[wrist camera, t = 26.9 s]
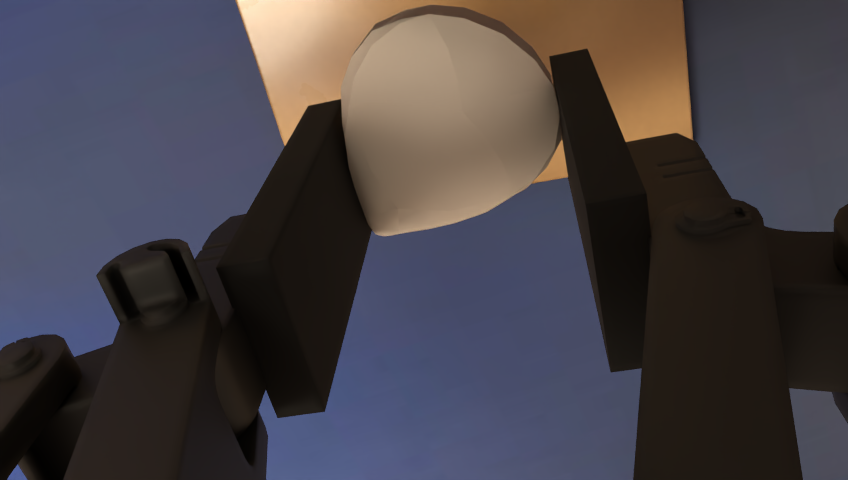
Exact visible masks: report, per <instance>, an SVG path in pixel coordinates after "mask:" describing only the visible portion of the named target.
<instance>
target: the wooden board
mask: <svg viewBox="0 0 848 480" xmlns="http://www.w3.org/2000/svg"><path fill="white" fill-rule="evenodd" d="M236 3H237V6H238V9H239V12H240V15H241V18H242V21H243V24H244V27H245V30H246V33H247V36H248V39H249V42H250V45H251V48H252V51H253V54H254V57H255V60H256V62H257V65H258V68H259V71H260V74H261V77H262V80H263V83H264V86H265V89H266V92H267V95H268V98H269V101H270V104H271V107H272V110H273V113H274V116H275V119H276V122H277V125H278V128H279V131H280V134H281V137H282V140H283V143H284V146H285V145H286V144H287V142H288V140H289V138H290V137H291V135H292V133H293V131H294V130H295V128H296V126H297V124H298V123H299V121H300V119H301V117H302V116H303V114H304V112H305V110H306V109H307V107H308V106H309V105H314V104H319V103H324V102H329V101H334V100H338V99H341V86H342V83H343V80H344V77H345V74H346V71H347V68H348V66H349V63H350V60H351V57H352V56H353V54H354V52H355V50H356V49H357V48H358V46H359V45H360V44H361V42H362V41H363V40H364V38H365V37H366V36H367V34H368V33H369V32H370V30H371V29H372V28H373V26H374V25H375V24H376V23H378V22H380V21H383V20H385V19H387V18H389V17H391V16H393V15H395V14H397V13H399V12H402V11H404V10H407V9H412V8H417V7H421V6H426V5H431V4H432V5H444V6H455V7H466V8H468V9H471V10H473V11H476V12H478V13H481V14H483V15H486V16H488V17H491V18H493V19H496V20H498V21H501V22H503V23H504V24H505V25H506V26H508V27H509V28H510V29H511V30H512V31H514V32H515V33H516V34H517V35H519V36H520V37H521V38H522V39H523V40H525V41H526V42H527V43H528V44H529V45H531V46H532V47H533V49H534V50H535V52H536V53H537V55H538V56H539V58H540V59H541V61H542V62H543V64H544V65H545V67H546V68H547V70H548V71H549V73H550V74H551V77H552V72H551V66H550V59H549V56H553V55H558V54H563V53H567V52H572V51H577V50H582V49H588V51H589V54H590V56H591V58H592V61H593V63H594V66H595V68H596V71H597V73H598V76H599V78H600V80H601V83H602V85H603V88H604V90H605V93H606V95H607V98H608V100H609V102H610V105H611V107H612V110H613V112H614V115H615V117H616V120H617V122H618V125H619V127H620V129H621V132H622V134H623V137H624V139H625V142H628V141H634V140H639V139H645V138H650V137H656V136H661V135H666V134H672V133H679V134H681V135H683V136H685V137H687V138H689V139H691V140H693V130H692V117H691V103H690V90H689V77H688V63H687V50H686V36H685V23H684V10H683V0H236ZM552 81H553V78H552ZM565 177H568V173H567V167H566V160H565V154H564V148H563V141H562V140H561V142H560V143H559V145H558V147H557V149H556V151H555V153H554V155H553V157H552V159H551V161H550V163H549V165H548V167H547V168H546V169H545V170H544V171H543V172H542V173H541V174H540V175H539V176H538V177H537V178H536V179H535V180H534V181H533V182H532V183H537V182H543V181H549V180H554V179H560V178H565ZM532 183H531V184H532Z"/></svg>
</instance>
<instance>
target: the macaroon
mask: <svg viewBox="0 0 848 480" xmlns="http://www.w3.org/2000/svg"><path fill="white" fill-rule="evenodd" d="M341 108H342V126H343V132H344V139H345V145H346V151H347V158H348V166H349V170H350V173H351V177H352V181H353V184H354V187H355V190H356V193H357V196H358V198H359V201H360V204H361V206H362V209H363V212H364V215H365V217H366V220H367V223H368V225H369V226H370V228H371V229H372V230H373V231H374V233H375V234H376V235H381V236H391V235H396V234H401V233H407V232H413V231H420V230H426V229H431V228H435V227H440V226H444V225H449V224H453V223H457V222H460V221H463V220H465V219H468V218H471V217H474V216H477V215H480V214H482V213H485V212H488V211H489V210H491V209H492V208H494V207H496V206H497V205H499V204H501V203H502V202H504V201H505V200H507V199H509V198H510V197H512V196H513V195H515V194H517V193H519V192H521V191H523V190H525V189H526V188H527V187H528V186H529V185H530V184H531V183H532V182H533V181H534V180H535V179H536V178H537V177H538V176H539V175H540V174H541V173H542V172H543V171H544V170H545V169H546V168H547V167H548V165H549V163H550V161H551V159H552V157H553V155H554V153H555V151H556V149H557V147H558V145H559V143H560V142H561V140H562V133H561V117H560V110H559V105H558V101H557V97H556V92H555V88H554V85H553V81H552V77H551V74H550V73H549V71H548V70H547V68H546V67H545V65H544V64H543V62H542V61H541V59H540V58H539V56H538V55H537V53H536V52H535V50H534V49H533V47H532V46H531V45H529V44H528V43H527V42H526V41H525V40H523V39H522V38H521V37H520V36H519V35H517V34H516V33H515V32H514V31H512V30H511V29H510V28H509V27H508V26H506V25H505V24H504V23H503V22H501V21H498V20H496V19H493V18H491V17H488V16H486V15H483V14H481V13H478V12H476V11H473V10H471V9H468V8H466V7H455V6H444V5H432V4H431V5H426V6H421V7H417V8H412V9H407V10H404V11H402V12H399V13H397V14H395V15H393V16H391V17H389V18H387V19H385V20H383V21H380V22H378V23H376V24H375V25H374V26H373V28H372V29H371V30H370V32H369V33H368V34H367V36H366V37H365V38H364V40H363V41H362V42H361V44H360V45H359V46H358V48H357V49H356V50H355V52H354V54H353V56H352V57H351V60H350V63H349V66H348V68H347V71H346V74H345V77H344V80H343V83H342V86H341Z"/></svg>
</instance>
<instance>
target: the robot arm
mask: <svg viewBox="0 0 848 480" xmlns="http://www.w3.org/2000/svg"><path fill="white" fill-rule="evenodd" d="M549 59H550V66H551V72H552V78H553V85H554V88H555V92H556V97H557V101H558V105H559V110H560V117H561V133H562V141H563V148H564V154H565V160H566V167H567V173H568V179H569V184H570V188H571V193H572V197H573V202H574V207H575V211H576V216H577V220H578V225H579V229H580V234H581V238H582V243H583V248H584V252H585V257H586V261H587V266H588V270H589V275H590V280H591V284H592V289H593V293H594V298H595V302H596V307H597V311H598V316H599V321H600V325H601V330H602V334H603V339H604V343H605V348H606V353H607V357H608V362H609V366H610V371H611V372H617V371H624V370H632V369H639V368H642V374H641V387H640V400H639V413H638V426H637V439H636V452H635V465H634V478H633V480H803V477H802V470H801V464H800V457H799V451H798V444H797V438H796V431H795V425H794V418H793V412H792V405H791V399H790V392H789V388H794V389H806V390H817V391H829V392H832V394H833V397H834V401H835V404H836V405H837V407H838V409H839V410H840V412H841V413H842V415H843V417H844V418H845V420H846V421H847V423H848V204H847V205H845V206H844V207H842V208H841V209H839V211H838V213H837V215H836V217H835V219H834V232H797V231H784V230H778V229H773V228H768V227H765V226H764V223H763V218H762V216H761V214H760V213H759V211H758V210H757V208H755V207H753V206H751V205H749V204H747V203H746V202H744V201H739V200H734V199H732V198H731V197H730V195H729V194H728V192H727V190H726V189H725V187H724V185H723V184H722V182H721V181H720V179H719V177H718V176H717V174H716V172H715V171H714V170H713V169H712V166H711V164H710V163H709V161H708V159H706V158H705V155H704V153H703V151H702V150H701V148H700V146H699V145H698V143H697V142H696V141H693V140H691V139H689V138H687V137H685V136H683V135H681V134H679V133H672V134H666V135H661V136H656V137H650V138H645V139H639V140H634V141H628V142H625V139H624V137H623V134H622V132H621V129H620V127H619V125H618V122H617V120H616V117H615V115H614V112H613V110H612V107H611V105H610V102H609V100H608V98H607V95H606V93H605V90H604V88H603V85H602V83H601V80H600V78H599V76H598V73H597V71H596V68H595V66H594V63H593V61H592V58H591V56H590V54H589V51H588V49H582V50H577V51H572V52H567V53H563V54H558V55H553V56H549ZM371 231H372V229H371V228H370V226H369V225H368V223H367V220H366V217H365V215H364V212H363V209H362V206H361V204H360V201H359V198H358V196H357V193H356V190H355V187H354V184H353V181H352V177H351V173H350V170H349V166H348V158H347V151H346V145H345V139H344V132H343V126H342V108H341V99H338V100H334V101H329V102H324V103H319V104H314V105H309V106H308V107H307V109H306V110H305V112H304V114H303V116H302V117H301V119H300V121H299V123H298V124H297V126H296V128H295V130H294V131H293V133H292V135H291V137H290V138H289V140H288V142H287V144H286V145H285V147H284V149H283V151H282V152H281V154H280V156H279V158H278V159H277V161H276V163H275V165H274V167H273V168H272V170H271V172H270V174H269V175H268V177H267V179H266V181H265V182H264V184H263V186H262V188H261V189H260V191H259V193H258V195H257V196H256V198H255V200H254V202H253V203H252V205H251V207H250V209H249V210H248V212H247V214H244V215H238V216H233V217H230V218H229V219H228V220H226V221H225V222H224V223H223V224H221V225H220V226H219V227H218V228H216V229H215V230H214V231H213V232H212V233H211V234H210V236H209V238H208V239H207V241H206V242H205V244H204V246H203V247H202V249H203V250H202V251H200V252H199V254H198V255H197V257H196V258H195V260H194V257H193V255H192V253H191V250H190V248H189V246H188V243H186V242H184V241H182V240H180V239H163V240H158V241H153V242H149V243H146V244H143V245H140V246H137V247H134V248H132V249H130V250H128V251H126V252H124V253H122V254H120V255H119V256H117V257H115V258H114V259H113V260H111V261H110V262H109V263H107V264H106V265H105V266H103V268H102V269H101V270H100V271H99V273H98V274H97V275H96V276H97V278H98V280H99V283H100V285H101V287H102V289H103V291H104V293H105V295H106V297H107V299H108V301H109V303H110V305H111V307H112V309H113V311H114V313H115V315H116V317H117V319H118V321H119V323H120V326H119V329H118V331H117V334H116V337H115V339H114V342H113V344H111V345H108V346H105V347H103V348H100V349H97V350H94V351H91V352H88V353H85V354H82V355H79V356H76V357H74V356H73V354H72V353H71V351H70V349H69V347H68V345H67V343H66V342H65V340H64V338H62V337H60V336H58V335H39V336H35V337H31V338H23V339H20V340H18V341H16V343H14V342H13V343H11V344H9V345H7V346H5V347H3V348H2V350H1V351H0V480H7V479H8V477H9V475H10V474H11V472H12V471H13V470H14V468H15V467H16V466H17V464H18V465H19V467H20V469H21V470H22V472H23V473H24V475H25V476H26V478H27V480H266V466H267V444H268V435H267V431H266V427H265V425H264V422H263V420H262V417H261V415H260V413H259V410H258V409H259V406H260V403H261V401H262V398H263V395H264V393H265V390H266V391H267V393H268V396H269V398H270V401H271V403H272V406H273V408H274V410H275V413H276V415H277V418H281V417H288V416H296V415H303V414H310V413H318V412H325V409H326V405H327V401H328V397H329V393H330V389H331V385H332V382H333V378H334V374H335V370H336V366H337V362H338V358H339V354H340V351H341V347H342V343H343V339H344V335H345V331H346V327H347V324H348V320H349V316H350V312H351V308H352V304H353V300H354V296H355V293H356V289H357V285H358V281H359V277H360V273H361V269H362V266H363V262H364V258H365V254H366V250H367V246H368V242H369V239H370V235H371Z"/></svg>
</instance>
